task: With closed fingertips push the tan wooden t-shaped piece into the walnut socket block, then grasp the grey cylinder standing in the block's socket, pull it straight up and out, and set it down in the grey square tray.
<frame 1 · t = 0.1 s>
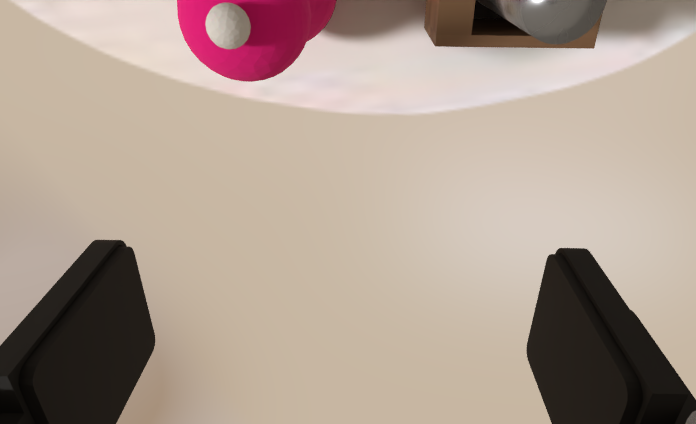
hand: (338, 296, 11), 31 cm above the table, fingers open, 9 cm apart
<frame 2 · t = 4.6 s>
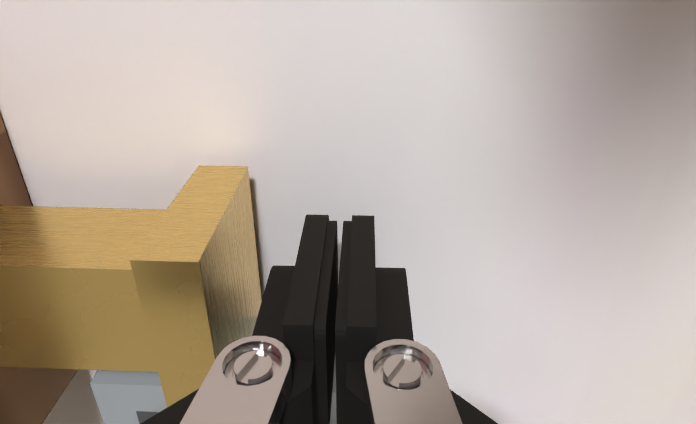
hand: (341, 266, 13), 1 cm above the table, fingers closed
tan wooden t-shaped piece: (83, 286, 12), point 3 cm above the table, slide at 0.6 cm, touching gripper
grey square tray: (272, 407, 17), on the table
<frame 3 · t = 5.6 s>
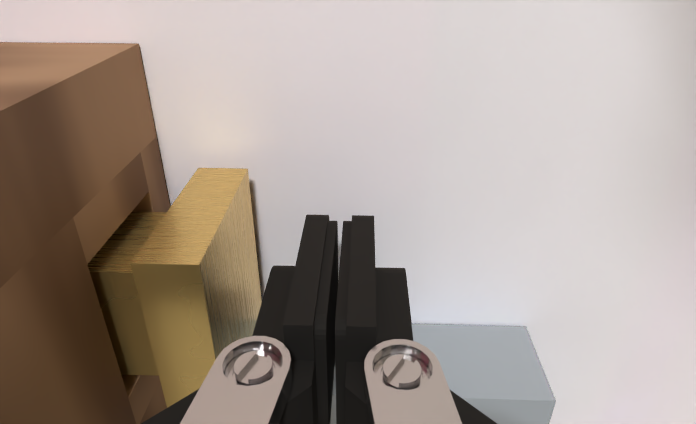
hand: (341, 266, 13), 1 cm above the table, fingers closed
tan wooden t-shaped piece: (83, 289, 12), point 2 cm above the table, slide at 4.4 cm, touching gripper, socket block
grey square tray: (385, 413, 17), on the table
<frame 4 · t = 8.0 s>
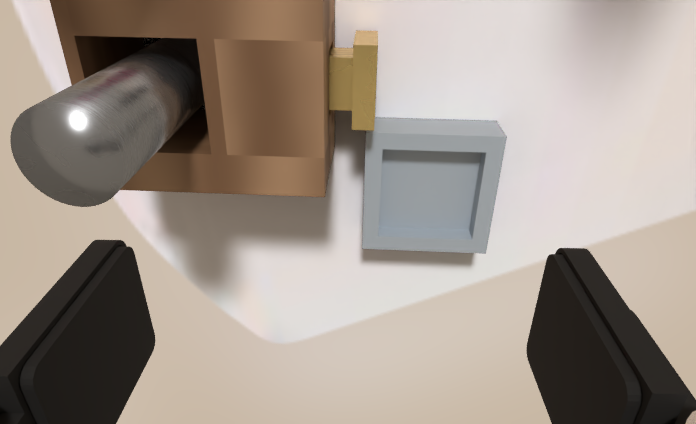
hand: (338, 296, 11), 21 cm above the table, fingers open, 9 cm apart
tan wooden t-shaped piece: (310, 77, 28), point 3 cm above the table, slide at 4.3 cm
socket block: (234, 64, 30), on the table
grey cylinder: (193, 63, 30), resting in socket block
grey square tray: (425, 177, 33), on the table
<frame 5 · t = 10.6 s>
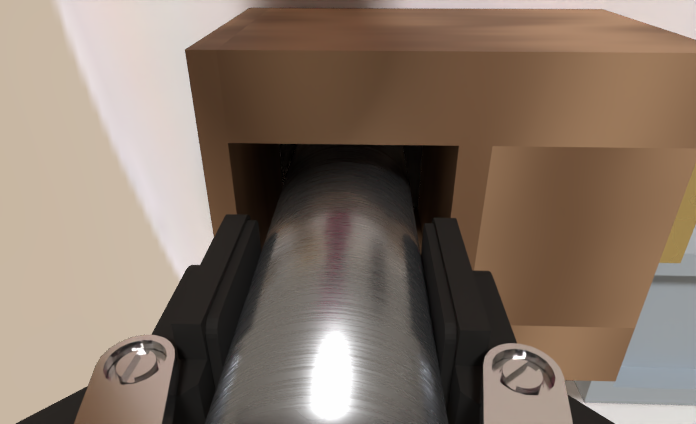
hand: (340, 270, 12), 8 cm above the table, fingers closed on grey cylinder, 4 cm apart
tan wooden t-shaped piece: (562, 174, 17), point 3 cm above the table, slide at 4.3 cm
socket block: (414, 146, 20), on the table
grey cylinder: (350, 145, 20), resting in socket block, touching gripper
grey square tray: (671, 294, 23), on the table
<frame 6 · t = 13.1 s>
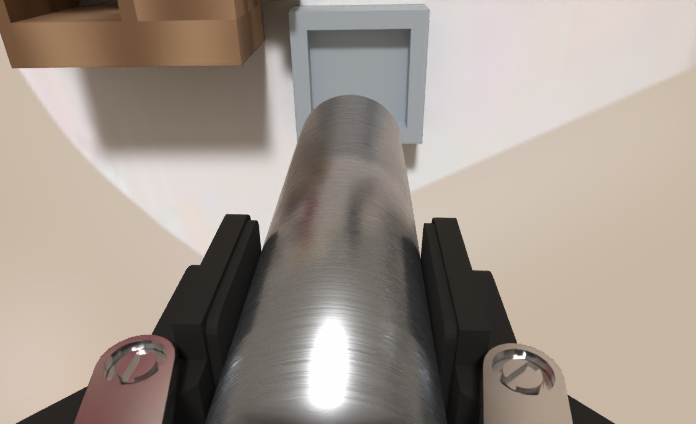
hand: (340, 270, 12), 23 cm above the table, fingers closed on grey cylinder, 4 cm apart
grey cylinder: (350, 144, 20), point 14 cm above the table, touching gripper
grey square tray: (359, 71, 33), on the table
when the fingers open (11 cm above the table, at t = 15.4 s): grey cylinder drops 1 cm, resting on grey square tray.
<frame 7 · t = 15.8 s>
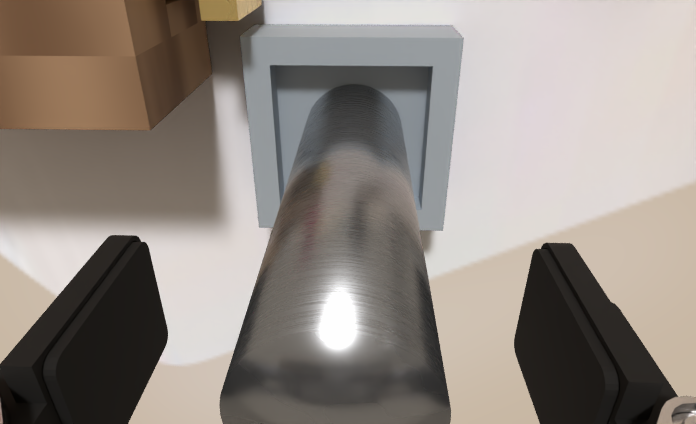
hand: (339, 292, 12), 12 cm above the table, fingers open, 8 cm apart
grey cylinder: (353, 131, 21), point 2 cm above the table, touching grey square tray
grey square tray: (352, 120, 22), on the table
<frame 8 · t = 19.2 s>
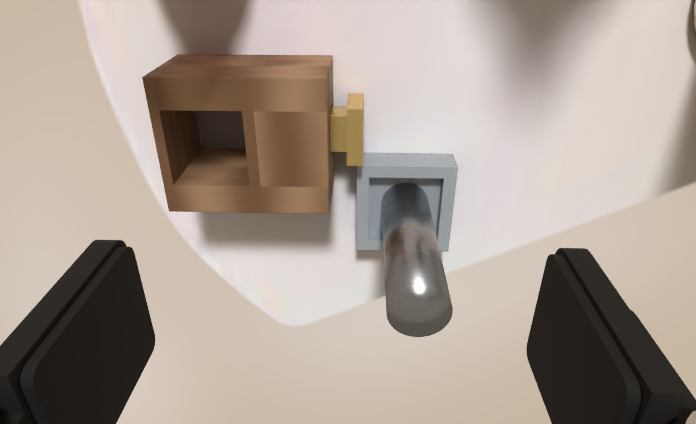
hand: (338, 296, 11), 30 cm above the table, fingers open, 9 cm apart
tan wooden t-shaped piece: (316, 128, 39), point 2 cm above the table, slide at 4.3 cm
socket block: (260, 117, 41), on the table
grey cylinder: (404, 203, 43), point 2 cm above the table, touching grey square tray
grey square tray: (402, 195, 44), on the table
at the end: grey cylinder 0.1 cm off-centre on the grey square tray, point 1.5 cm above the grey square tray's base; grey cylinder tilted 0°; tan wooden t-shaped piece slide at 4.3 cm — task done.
